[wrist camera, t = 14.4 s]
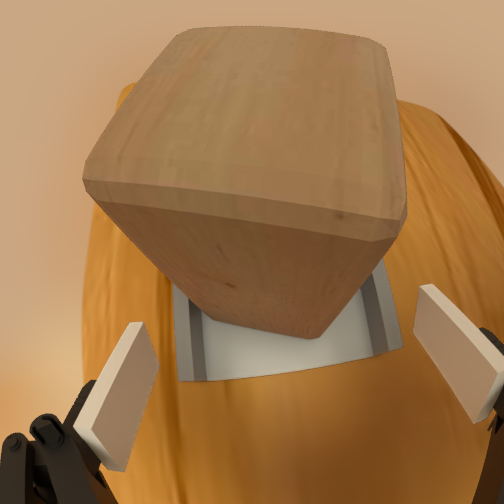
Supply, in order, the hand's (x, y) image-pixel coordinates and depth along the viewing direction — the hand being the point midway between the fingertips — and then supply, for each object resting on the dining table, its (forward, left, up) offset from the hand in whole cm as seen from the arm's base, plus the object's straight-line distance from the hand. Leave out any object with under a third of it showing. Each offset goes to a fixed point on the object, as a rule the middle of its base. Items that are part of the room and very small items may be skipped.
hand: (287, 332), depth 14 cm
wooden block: (-2, -7, -12) cm, 14 cm away
